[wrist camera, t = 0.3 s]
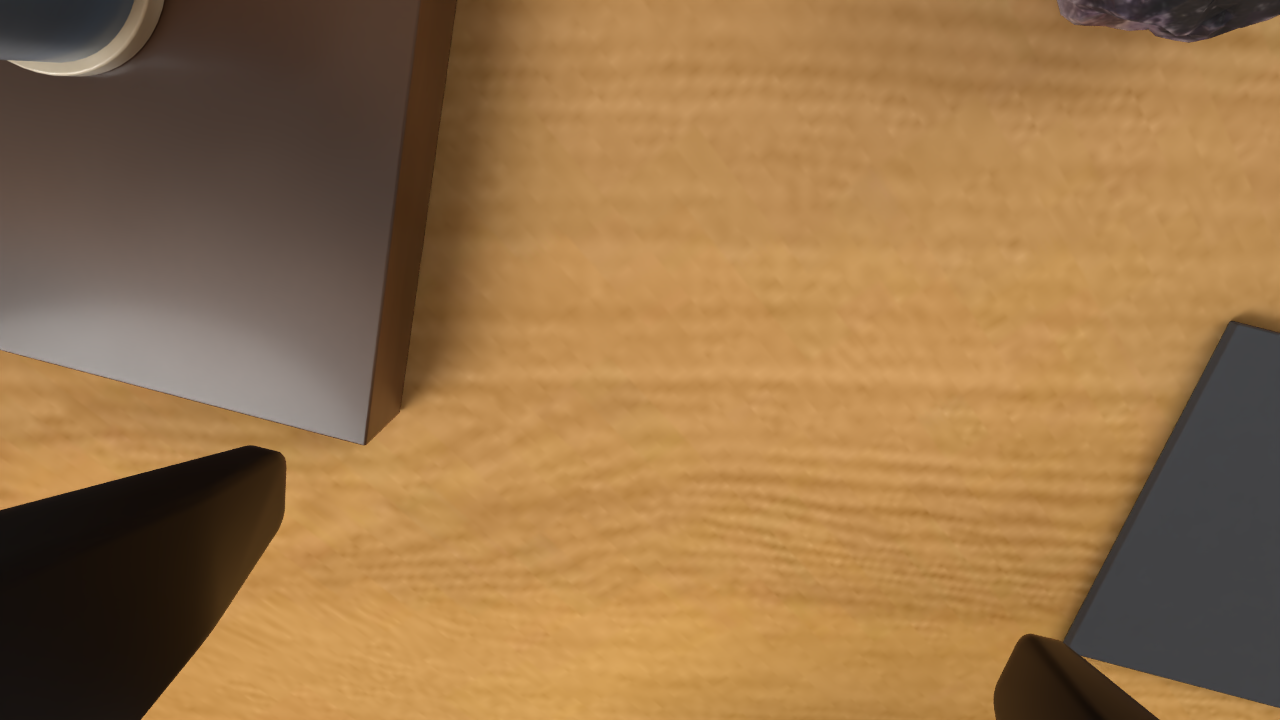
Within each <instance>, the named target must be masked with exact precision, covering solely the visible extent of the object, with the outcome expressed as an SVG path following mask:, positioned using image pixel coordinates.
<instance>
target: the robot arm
mask: <svg viewBox="0 0 1280 720" xmlns="http://www.w3.org/2000/svg"><path fill="white" fill-rule="evenodd" d="M285 488H286V460H285V457H284V456H283V455H282V454H281V453H280V452H277V451H273V450H269V449H265V448H261V447H257V446H250V445H249V446H244V447H240V448H236V449H232V450H229V451H225V452H221V453H217V454H213V455H210V456H206V457H202V458H198V459H194V460H190V461H187V462H183V463H179V464H175V465H171V466H168V467H164V468H160V469H156V470H152V471H148V472H145V473H141V474H137V475H133V476H129V477H126V478H122V479H118V480H114V481H110V482H106V483H103V484H99V485H95V486H91V487H87V488H84V489H80V490H76V491H72V492H68V493H64V494H61V495H57V496H53V497H49V498H45V499H42V500H38V501H34V502H30V503H26V504H22V505H19V506H15V507H11V508H7V509H3V510H0V720H141V719H142V717H143V716H144V715H145V714H146V713H147V711H148V710H149V709H150V708H151V706H152V705H153V704H154V703H155V702H156V700H157V699H158V698H159V697H160V695H161V694H162V693H163V692H164V690H165V689H166V688H167V687H168V686H169V684H170V683H171V682H172V681H173V679H174V678H175V677H176V676H177V674H178V673H179V672H180V671H181V670H182V668H183V667H184V666H185V665H186V663H187V662H188V661H189V660H190V659H191V657H192V656H193V655H194V654H195V652H196V651H197V650H198V649H199V647H200V646H201V645H202V643H203V642H204V641H205V640H206V638H207V637H208V636H209V634H210V633H211V632H212V630H213V629H214V627H215V626H216V624H217V623H218V621H219V620H220V619H221V617H222V616H223V614H224V613H225V611H226V609H227V608H228V606H229V605H230V603H231V602H232V600H233V599H234V597H235V596H236V594H237V593H238V591H239V590H240V588H241V586H242V585H243V583H244V582H245V580H246V579H247V577H248V576H249V574H250V573H251V571H252V570H253V568H254V566H255V565H256V563H257V562H258V560H259V559H260V557H261V556H262V554H263V553H264V551H265V550H266V548H267V546H268V545H269V543H270V542H271V540H272V539H273V537H274V536H275V534H276V533H277V531H278V529H279V527H280V525H281V523H282V520H283V516H284V511H285ZM994 710H995V716H996V720H1159V719H1158V718H1157V717H1155V716H1154V715H1153V714H1152V713H1150V712H1149V711H1148V710H1147V709H1145V708H1144V707H1143V706H1142V705H1140V704H1139V703H1138V702H1137V701H1136V700H1134V699H1133V698H1132V697H1131V696H1129V695H1128V694H1127V693H1126V692H1124V691H1123V690H1122V689H1121V688H1119V687H1118V686H1117V685H1116V684H1115V683H1113V682H1112V681H1111V680H1110V679H1108V678H1107V677H1106V676H1105V675H1103V674H1102V673H1101V672H1100V671H1098V670H1097V669H1096V668H1095V667H1094V666H1092V665H1091V664H1090V663H1089V662H1087V661H1086V660H1085V659H1084V658H1082V657H1081V656H1080V655H1079V654H1077V653H1076V652H1075V651H1074V650H1073V649H1071V648H1070V647H1069V646H1068V645H1066V644H1065V643H1063V642H1061V641H1059V640H1055V639H1051V638H1047V637H1043V636H1038V635H1034V634H1027V635H1024V636H1022V637H1021V638H1020V639H1019V641H1018V642H1017V644H1016V646H1015V648H1014V650H1013V652H1012V654H1011V656H1010V658H1009V660H1008V662H1007V664H1006V666H1005V668H1004V670H1003V672H1002V674H1001V676H1000V678H999V680H998V682H997V685H996V688H995V691H994Z"/></svg>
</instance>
